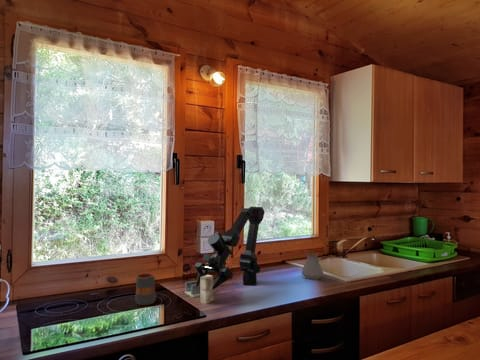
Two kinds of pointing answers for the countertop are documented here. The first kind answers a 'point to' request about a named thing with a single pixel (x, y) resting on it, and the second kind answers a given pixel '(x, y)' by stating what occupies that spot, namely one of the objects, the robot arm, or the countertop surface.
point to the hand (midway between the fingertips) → (204, 287)
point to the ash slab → (206, 289)
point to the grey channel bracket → (192, 289)
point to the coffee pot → (313, 266)
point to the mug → (145, 289)
